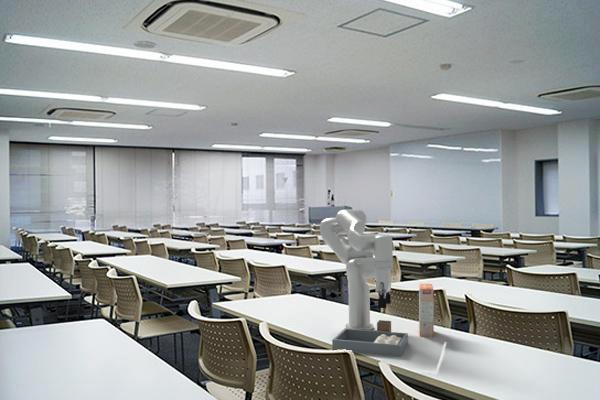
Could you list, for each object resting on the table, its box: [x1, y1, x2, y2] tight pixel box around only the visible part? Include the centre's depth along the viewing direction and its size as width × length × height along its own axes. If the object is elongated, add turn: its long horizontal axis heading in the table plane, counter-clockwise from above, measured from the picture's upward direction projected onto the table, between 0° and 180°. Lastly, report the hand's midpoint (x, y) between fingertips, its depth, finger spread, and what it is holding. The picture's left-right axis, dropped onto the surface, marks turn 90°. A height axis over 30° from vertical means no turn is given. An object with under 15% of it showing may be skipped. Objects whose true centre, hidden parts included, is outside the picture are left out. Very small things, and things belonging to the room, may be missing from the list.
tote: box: [331, 328, 409, 358], centre depth 204 cm, size 18×26×5 cm
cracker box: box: [418, 283, 435, 339], centre depth 225 cm, size 14×6×21 cm, turn 168°
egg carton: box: [374, 334, 401, 345], centre depth 202 cm, size 11×9×4 cm
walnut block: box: [376, 319, 392, 332], centre depth 219 cm, size 5×5×7 cm
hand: (384, 305), depth 219 cm, fingers open, 9 cm apart
